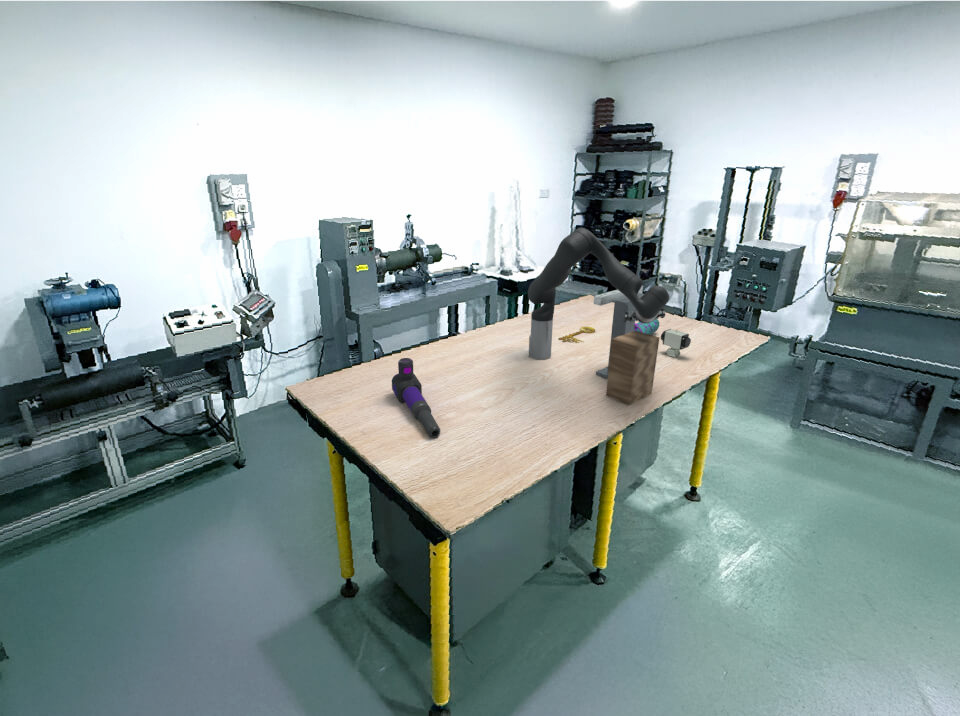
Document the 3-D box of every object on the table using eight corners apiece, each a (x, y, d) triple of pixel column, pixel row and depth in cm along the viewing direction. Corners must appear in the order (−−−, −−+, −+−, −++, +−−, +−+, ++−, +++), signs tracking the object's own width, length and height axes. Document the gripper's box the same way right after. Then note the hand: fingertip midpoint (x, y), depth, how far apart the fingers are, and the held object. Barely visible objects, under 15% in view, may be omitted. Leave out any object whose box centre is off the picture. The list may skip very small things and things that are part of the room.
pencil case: (641, 330, 248) (643, 312, 245) (658, 334, 243) (661, 315, 239) (622, 341, 234) (624, 322, 230) (640, 345, 228) (642, 325, 225)
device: (421, 447, 152) (420, 406, 146) (391, 392, 182) (389, 356, 175) (448, 441, 156) (448, 400, 149) (414, 388, 185) (413, 352, 179)
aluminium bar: (600, 305, 175) (601, 297, 173) (593, 303, 177) (594, 295, 176) (642, 293, 190) (643, 285, 189) (635, 292, 192) (636, 284, 191)
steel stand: (616, 382, 190) (625, 302, 178) (595, 374, 197) (602, 297, 185) (640, 372, 200) (650, 295, 188) (619, 364, 207) (627, 290, 195)
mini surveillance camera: (682, 361, 210) (686, 334, 206) (658, 353, 219) (661, 327, 214) (689, 358, 213) (693, 331, 209) (665, 350, 222) (668, 325, 217)
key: (556, 341, 235) (557, 338, 235) (584, 327, 252) (584, 324, 252) (576, 347, 229) (576, 344, 228) (603, 333, 246) (604, 330, 245)
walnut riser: (629, 405, 173) (636, 346, 165) (605, 395, 180) (611, 338, 172) (651, 393, 181) (659, 337, 173) (628, 384, 188) (634, 330, 180)
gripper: (667, 298, 168) (661, 306, 184) (624, 302, 171) (621, 310, 187) (669, 319, 168) (663, 326, 183) (626, 323, 171) (623, 330, 187)
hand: (642, 318), depth 185 cm, fingers open, 8 cm apart
